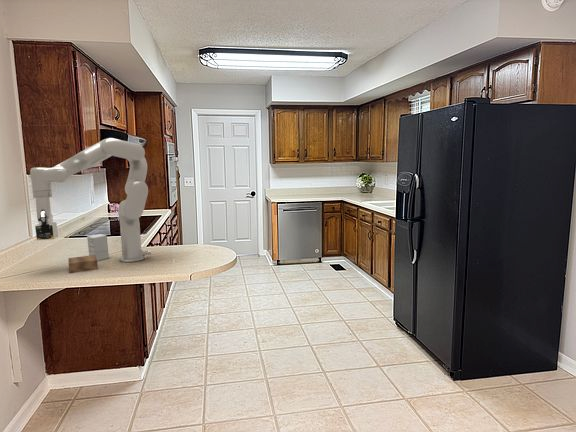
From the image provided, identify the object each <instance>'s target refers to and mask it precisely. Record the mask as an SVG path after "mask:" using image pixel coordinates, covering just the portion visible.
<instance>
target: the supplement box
mask: <svg viewBox="0 0 576 432" xmlns="http://www.w3.org/2000/svg"><path fill="white" fill-rule="evenodd" d="M86 238H87V246H88V247H87V248H88V256H90V255H95V256H96V259H97V262H98V261H102V260H106V259H110V258H109V257H110V255H109V244H108V235H107V234H106V235H105V234H101V233H99V234H93V235H87V236H86Z"/></svg>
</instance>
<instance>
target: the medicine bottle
mask: <svg viewBox="0 0 576 432" xmlns="http://www.w3.org/2000/svg"><path fill="white" fill-rule="evenodd" d="M45 218H47V217H45ZM57 223H58V222H56V221H54V218H53V213H52V212H51V213H50V218H49V219H48V224H49V229H50V233H42V231H41V218H39V220H38V219H37V224H36V225H35V226H34V227H35V236H36V241H48V240H49V241H51V240H55V239H56V238H58V237H59V233H58V225H57Z"/></svg>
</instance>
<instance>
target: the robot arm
mask: <svg viewBox="0 0 576 432" xmlns="http://www.w3.org/2000/svg"><path fill="white" fill-rule="evenodd" d="M145 156H146V151H145V148H144V147H143V146H142V145H141V144H139V143H136V142H131V141H127V140H121V139H118V138H114V137H107V138H104V139H102V140H100V141H98V142H97V143H95V144H92V145H91V146H89V147H87V148H85V149H84V150H81V151H80V152H78V153H76V154H75V155H72V156H71V157H70V158H67V159H65V160H64V161H62V162H60V163H57V164H56V165H54V166H52V167H43V166H42V167H40V166H39V167H31V169H30V171H29V173H30V181H31V190H32V198H33V199H35V209H36V220H37V221H38V220H39V218H41V231H42V233H50V229H49V224H48V219H49V218H50V213H51V214H52V207H51V201H50V198H52V197H53V193H52V185H51V183H64V182H66V181H67V180H68V179H69V178H70V177H71V176H74V175H75V174H77V173H79V172H81V171H83V170H88V169H90V168H92V167H94V166H96V165H98V164H99V163H101V162H103V161H105V160H107V159H108V158H111V157H117V158H120V159H121V158H122V159H125V160H127V161H128V162H129V171H128V176H127V179H126V183H125V186H124V192H125V194H126V198H125V199H124V200H122V201H120V203H119V204H118V207H117V213H118V220H119V226H120V241H121V242H120V244H121V254H122V256H121V257H119V262H123V263H135V262H139V261H140V262H141V261H143V260H145V258H146V255H152V252H151V250H143V249H142V240H141V226H140V225H141V223H140V218H141V216H142V215H143V213H144V210H145V207H146V202H147V199H148V195H149V188H148V185H147V183H146V178H147V174H148V163H147V159H146V157H145ZM45 217H47V218H45Z"/></svg>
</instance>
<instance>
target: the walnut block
mask: <svg viewBox="0 0 576 432" xmlns="http://www.w3.org/2000/svg"><path fill="white" fill-rule="evenodd" d="M98 269H99V268H98V261H97V259H96V256H95V255H90V256H89V255H83V256H76V257H68V271H69V274H74V273H81V272H91V271H97V270H98Z"/></svg>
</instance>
